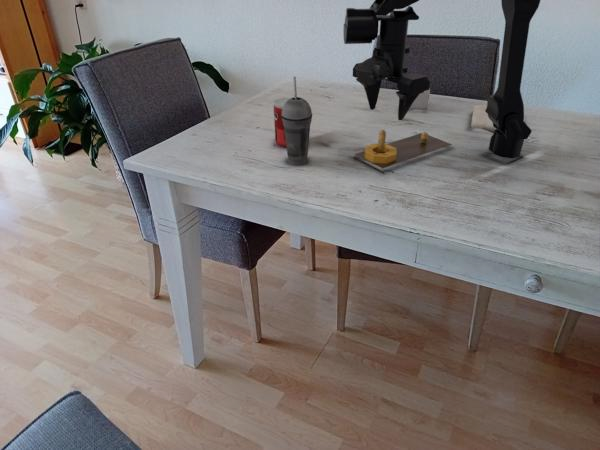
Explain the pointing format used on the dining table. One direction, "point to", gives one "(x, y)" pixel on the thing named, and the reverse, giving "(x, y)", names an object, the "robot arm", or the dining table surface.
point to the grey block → (421, 101)
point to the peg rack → (406, 148)
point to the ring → (380, 154)
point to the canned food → (279, 121)
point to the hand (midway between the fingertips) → (386, 114)
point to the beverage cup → (297, 128)
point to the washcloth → (481, 119)
